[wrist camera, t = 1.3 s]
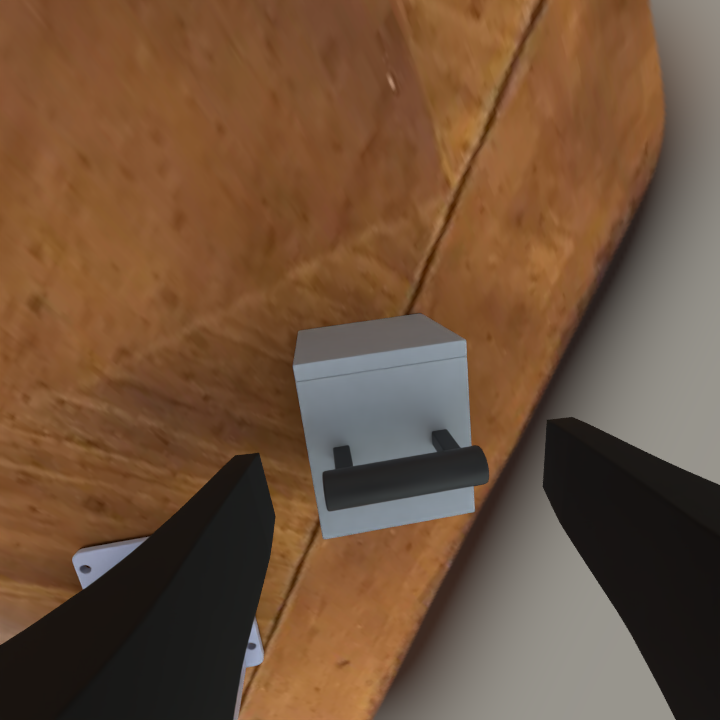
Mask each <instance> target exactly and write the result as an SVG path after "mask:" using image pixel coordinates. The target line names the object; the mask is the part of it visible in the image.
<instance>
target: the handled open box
mask: <svg viewBox="0 0 720 720" xmlns="http://www.w3.org/2000/svg"><path fill="white" fill-rule="evenodd" d="M466 355H467V350H466V340H465V339H464V338H462V337H460V336H459V335H457V334H455V333H454V332H452V331H450V330H448V329H447V328H445V327H443V326H442V325H440V324H438V323H437V322H435V321H433V320H432V319H430V318H428V317H426V316H425V315H423V314H421V313H419V314H412V315H405V316H398V317H391V318H384V319H377V320H370V321H363V322H356V323H349V324H342V325H335V326H328V327H321V328H314V329H307V330H300V331H298V336H297V342H296V349H295V355H294V361H293V371H294V377H295V381H296V388H297V394H298V399H299V405H300V411H301V416H302V422H303V428H304V434H305V439H306V445H307V451H308V456H309V462H310V468H311V473H312V479H313V485H314V490H315V496H316V502H317V508H318V513H319V519H320V525H321V530H322V536H323V539H329V538H335V537H340V536H346V535H351V534H357V533H362V532H367V531H373V530H378V529H384V528H389V527H395V526H400V525H406V524H411V523H417V522H422V521H428V520H433V519H438V518H444V517H449V516H455V515H460V514H466V513H471V512H475V507H474V487H473V486H477V485H483V484H486V483H487V482H488V480H489V468H488V463H487V460H486V457H485V455H484V453H483V451H482V449H481V448H480V447H479V446H476V445H474V446H471V428H470V409H469V389H468V370H467V356H466Z"/></svg>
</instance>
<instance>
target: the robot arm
mask: <svg viewBox="0 0 720 720" xmlns="http://www.w3.org/2000/svg"><path fill="white" fill-rule="evenodd" d="M543 478H544V479H543V488H544V490H545V492H546V495H547V497H548V499H549V501H550V503H551V506H552V507H553V510H554V512H555V513H556V516H557V518H558V520H559V522H560V524H561V525H562V527H563V529H564V530H565V532H566V533H567V535H568V536H569V538H570V540H571V541H572V543H573V544H574V546H575V547H576V549H577V551H578V552H579V554H580V555H581V557H582V558H583V560H584V561H585V563H586V564H587V566H588V567H589V569H590V571H591V572H592V574H593V575H594V577H595V578H596V580H597V581H598V583H599V584H600V586H601V587H602V589H603V590H604V592H605V593H606V595H607V597H608V598H609V600H610V601H611V603H612V604H613V606H614V607H615V609H616V610H617V612H618V613H619V615H620V617H621V618H622V620H623V622H624V623H625V625H626V627H627V628H628V630H629V632H630V633H631V635H632V637H633V639H634V640H635V642H636V644H637V646H638V648H639V650H640V651H641V654H642V656H643V658H644V659H645V661H646V663H647V665H648V667H649V669H650V671H651V672H652V674H653V676H654V678H655V680H656V682H657V684H658V686H659V688H660V689H661V691H662V693H663V695H664V697H665V699H666V701H667V703H668V705H669V707H670V709H671V711H672V713H673V715H674V717H675V719H676V720H720V485H718V484H716V483H714V482H711V481H709V480H707V479H704V478H702V477H700V476H697V475H695V474H693V473H691V472H688V471H686V470H684V469H681V468H679V467H677V466H675V465H672V464H670V463H668V462H666V461H664V460H662V459H660V458H657V457H655V456H653V455H651V454H649V453H647V452H645V451H643V450H641V449H639V448H637V447H635V446H632V445H630V444H628V443H626V442H624V441H622V440H620V439H618V438H616V437H614V436H612V435H610V434H608V433H606V432H604V431H602V430H600V429H598V428H596V427H594V426H591V425H589V424H587V423H585V422H582V421H580V420H578V419H575V418H573V417H569V418H560V419H552V420H547V427H546V443H545V461H544V476H543ZM274 524H275V513H274V509H273V505H272V501H271V497H270V493H269V489H268V485H267V481H266V478H265V474H264V470H263V466H262V462H261V458H260V454H259V453H254V454H245V455H236V456H234V457H233V458H232V459H231V460H230V461H229V462H228V463H227V464H226V465H225V466H224V467H223V468H222V469H220V470H219V471H218V472H217V473H216V474H215V475H214V476H213V477H212V478H211V479H210V480H209V481H208V482H207V483H206V484H205V485H204V486H203V487H202V488H201V489H200V490H199V491H198V492H197V493H196V494H195V495H194V496H193V497H192V498H191V499H190V500H189V501H188V502H187V503H186V504H185V505H184V506H183V507H182V508H181V509H180V510H179V511H178V512H176V513H175V514H174V515H173V516H172V517H171V518H170V519H169V520H168V521H166V522H165V523H164V524H163V525H162V526H161V527H160V528H159V529H158V530H156V531H155V532H154V533H153V534H152V535H151V536H150V537H144V538H138V539H133V540H127V541H121V542H116V543H110V544H104V545H99V546H93V547H87V548H82V549H80V550H78V551H77V552H76V554H75V555H74V556H73V559H72V561H73V565H74V567H75V570H76V573H77V575H78V578H79V580H80V583H81V585H82V588H83V590H82V591H80V592H79V593H78V594H76V595H75V596H73V597H72V598H70V599H69V600H67V601H66V602H65V603H63V604H62V605H60V606H59V607H57V608H56V609H54V610H53V611H51V612H50V613H49V614H47V615H46V616H44V617H43V618H41V619H40V620H38V621H37V622H36V623H34V624H33V625H31V626H30V627H28V628H27V629H25V630H24V631H22V632H20V633H19V634H17V635H16V636H14V637H13V638H11V639H9V640H8V641H6V642H5V643H3V644H1V645H0V720H238V716H239V709H240V703H241V697H242V690H243V684H244V677H245V671H246V667H251V666H256V665H259V664H260V663H262V661H263V660H264V650H263V646H262V641H261V637H260V633H259V629H258V625H257V621H256V617H255V614H256V610H257V607H258V603H259V599H260V595H261V591H262V587H263V583H264V579H265V575H266V571H267V567H268V563H269V559H270V555H271V548H272V541H273V533H274ZM85 565H87V566H89V567H90V568H88V567H86V566H85ZM251 643H253V644H251Z"/></svg>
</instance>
